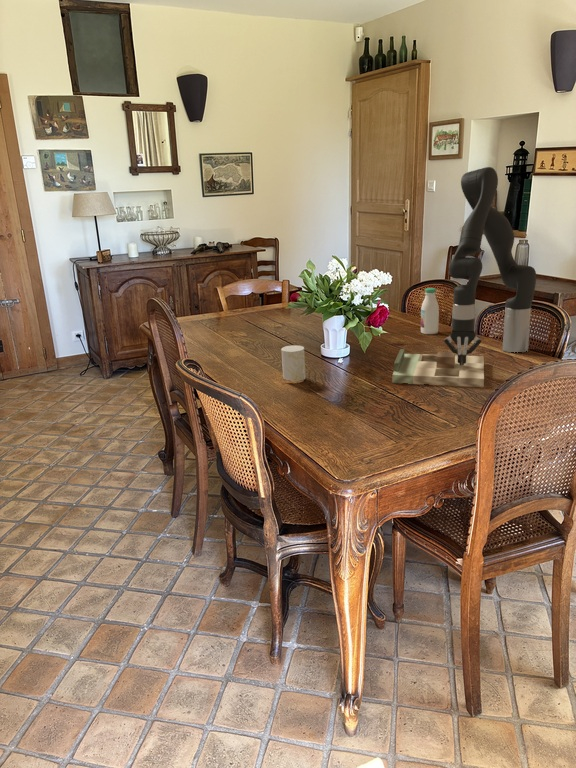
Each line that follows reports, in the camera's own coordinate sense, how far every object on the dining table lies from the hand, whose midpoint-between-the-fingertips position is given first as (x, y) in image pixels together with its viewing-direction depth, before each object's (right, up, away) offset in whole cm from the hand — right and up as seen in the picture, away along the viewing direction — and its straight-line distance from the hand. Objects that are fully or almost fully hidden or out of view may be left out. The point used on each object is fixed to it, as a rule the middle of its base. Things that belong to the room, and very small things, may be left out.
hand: (461, 364), depth 204 cm
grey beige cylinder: (-59, -6, +5) cm, 60 cm away
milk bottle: (+3, +16, +58) cm, 61 cm away
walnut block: (-5, 0, +2) cm, 6 cm away
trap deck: (-7, -3, +4) cm, 8 cm away
